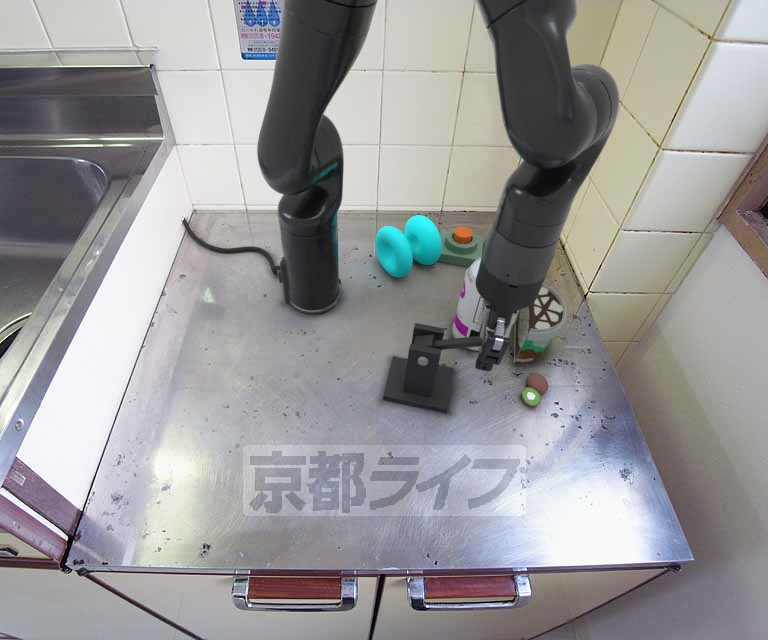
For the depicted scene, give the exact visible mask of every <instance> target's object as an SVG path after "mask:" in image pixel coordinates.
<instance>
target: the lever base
mask: <svg viewBox="0 0 768 640" xmlns="http://www.w3.org/2000/svg"><path fill="white" fill-rule="evenodd" d="M445 331H446V328H444V327H440V326H435V325H428V324H423V323H418V322H415V323H414V325H413V331H412V338H411V343H410V344H409V348H408V354H407V358H405V357H400V356H395V355H393V356H392V359H391V362H390V366H389V371H388V375H387V379H386V383H385V387H384V391H383V395H382V401H386V402H390V403H394V404H395V403H396V404H399V405H400V404H401V405H405V406H410V407H414V408H419V409H423V410H428V411H433V412H437V413H443V414H447V413H448V410H449V403H450V396H451V388H452V381H453V374H454V367H451V366H447V365H442V364H441V365H440V361H441V360H440V359H441V355H442V350H441V349H436V348H431V347H426V346H421V345H416V344H414V341H415V337H416V336H423V335H432V334H434V336H435V339H436V340H444V335H445Z"/></svg>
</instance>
